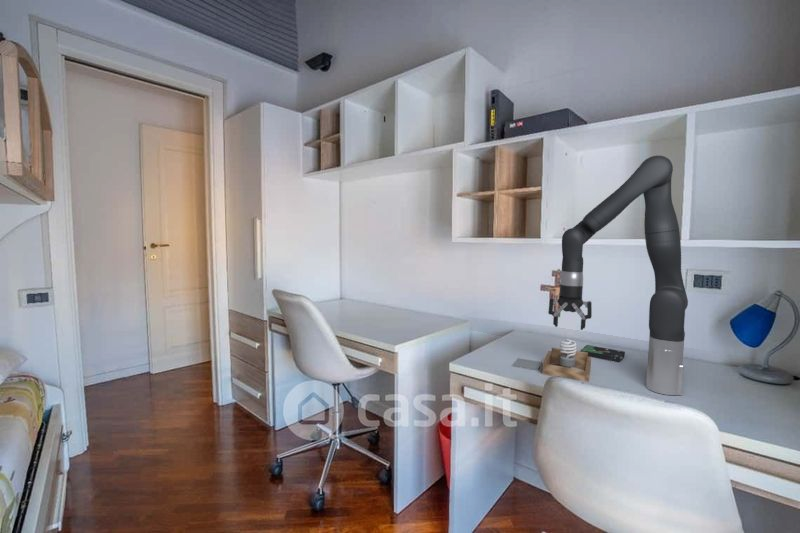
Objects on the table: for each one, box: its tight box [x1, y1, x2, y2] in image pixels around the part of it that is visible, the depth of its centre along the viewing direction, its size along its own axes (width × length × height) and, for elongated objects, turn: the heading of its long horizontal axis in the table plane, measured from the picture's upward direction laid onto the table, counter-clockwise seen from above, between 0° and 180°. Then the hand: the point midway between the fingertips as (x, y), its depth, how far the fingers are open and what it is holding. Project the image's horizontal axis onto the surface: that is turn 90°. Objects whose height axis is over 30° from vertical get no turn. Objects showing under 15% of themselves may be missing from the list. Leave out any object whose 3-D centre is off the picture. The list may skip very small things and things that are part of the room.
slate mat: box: [512, 357, 543, 371], centre depth 148 cm, size 9×9×1 cm
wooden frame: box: [541, 347, 592, 383], centre depth 141 cm, size 15×15×6 cm
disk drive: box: [580, 344, 626, 363], centre depth 160 cm, size 10×3×15 cm
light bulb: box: [559, 338, 577, 368], centre depth 140 cm, size 6×6×12 cm
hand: (568, 327), depth 140 cm, fingers open, 8 cm apart
